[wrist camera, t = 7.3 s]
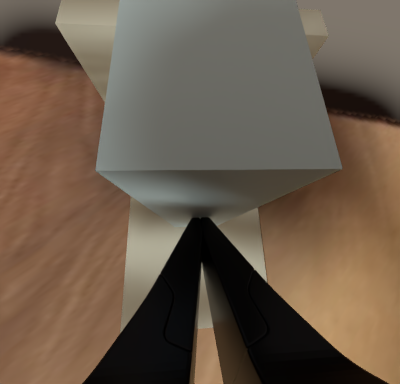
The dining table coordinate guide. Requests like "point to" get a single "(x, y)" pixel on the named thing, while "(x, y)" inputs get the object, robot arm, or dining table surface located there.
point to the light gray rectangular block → (212, 107)
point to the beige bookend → (139, 214)
